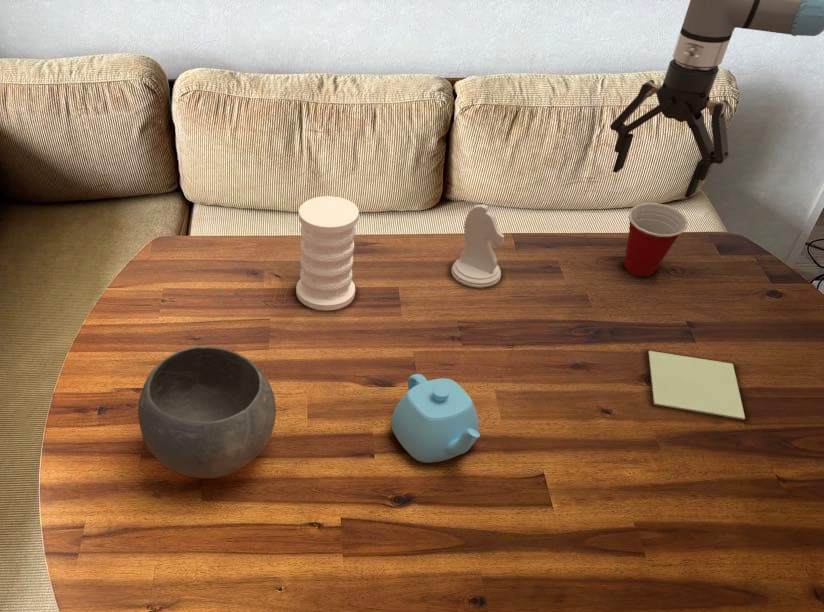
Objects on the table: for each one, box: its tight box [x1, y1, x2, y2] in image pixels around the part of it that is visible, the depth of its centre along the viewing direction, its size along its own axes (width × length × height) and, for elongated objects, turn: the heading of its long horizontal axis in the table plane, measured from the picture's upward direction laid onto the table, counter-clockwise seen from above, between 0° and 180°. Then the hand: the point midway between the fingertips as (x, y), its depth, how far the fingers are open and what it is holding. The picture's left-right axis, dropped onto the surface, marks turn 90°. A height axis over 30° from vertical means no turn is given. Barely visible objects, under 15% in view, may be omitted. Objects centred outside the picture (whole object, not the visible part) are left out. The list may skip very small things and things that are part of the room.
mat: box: [647, 350, 746, 421], centre depth 132 cm, size 14×14×1 cm
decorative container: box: [295, 195, 360, 311], centre depth 145 cm, size 12×12×18 cm
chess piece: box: [450, 203, 505, 289], centre depth 151 cm, size 10×10×15 cm
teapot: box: [390, 373, 481, 463], centre depth 119 cm, size 13×11×18 cm
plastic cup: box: [624, 202, 689, 277], centre depth 152 cm, size 11×11×12 cm
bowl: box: [137, 345, 277, 479], centre depth 116 cm, size 20×20×15 cm
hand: (652, 182), depth 140 cm, fingers open, 13 cm apart
